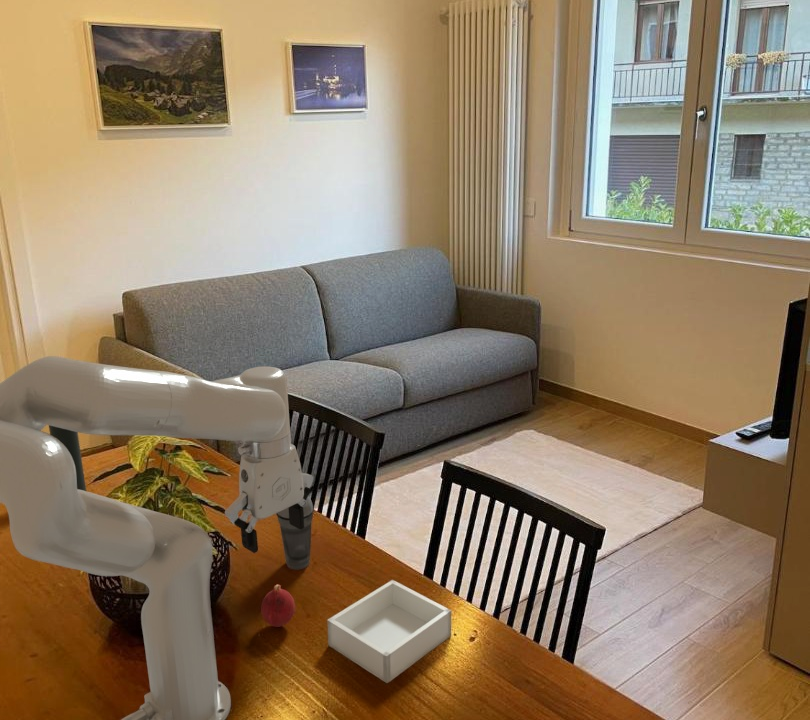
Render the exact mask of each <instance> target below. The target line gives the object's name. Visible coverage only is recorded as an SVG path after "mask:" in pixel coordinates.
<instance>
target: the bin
mask: <svg viewBox="0 0 810 720" xmlns="http://www.w3.org/2000/svg"><path fill="white" fill-rule="evenodd" d="M326 625H327V643H328V646H329V647H330V648H332V649H333V650H335V651H336V652H338V653H339V654H341V655H342V656H344V657H345V658H347V659H348V660H349V661H351V662H353V663H355V664H357V665H358V666H359V667H361V668H362V669H364V670H365V671H367V672H369V673H370V674H372V675H374V677H377V678H378V679H380V680H381V681H383V682H385V683H386V684H388V683H390V682H391V681H393V680H394V679H396V677H398V676H399V675H400V674H403V672H405V671H406V670H407V669H409V668H410V667H411V666H412V665H414V664H415V663H417V662H418V661H419V660H420V659H422V658H423V657H425V656H426V655H427V654H429V653H430V652H431V651H433V650H434V649H435V648H437V647H438V646H439V645H441V644H442V643H444V642H445V641H446V640H448V639H449V638H450V637H452V610H451V609H449V608H447V607H446V606H444V605H442V604H440V603H438V602H436V601H434V600H432V599H431V598H428V597H427V596H425V595H423V594H421V593H419V592H417V591H415V590H413V589H411V588H409V587H407V586H405V585H404V584H402V583H400V582H397V581H396V580H394V579H391V580H390V581H388V582H387V583H385V584H384V585H382V586H380V587H378V588H377V589H375V590H374V591H372V592H369V594H367V595H365V596H364V597H362V598H361V599H358V601H355V602H354V603H352V604H350V605H349V606H347V607H346V608H344V609H343V610H341V611H340V612H338V613H336V614H334V615H332V616H331V617H330V618H328V619H327V624H326Z"/></svg>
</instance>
